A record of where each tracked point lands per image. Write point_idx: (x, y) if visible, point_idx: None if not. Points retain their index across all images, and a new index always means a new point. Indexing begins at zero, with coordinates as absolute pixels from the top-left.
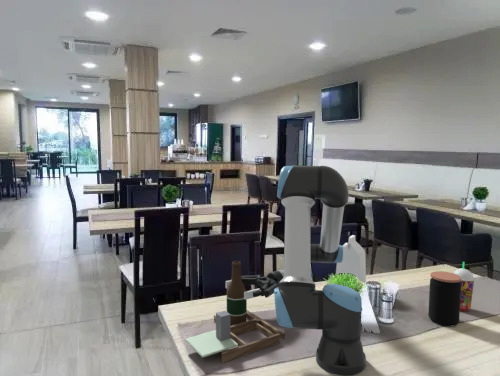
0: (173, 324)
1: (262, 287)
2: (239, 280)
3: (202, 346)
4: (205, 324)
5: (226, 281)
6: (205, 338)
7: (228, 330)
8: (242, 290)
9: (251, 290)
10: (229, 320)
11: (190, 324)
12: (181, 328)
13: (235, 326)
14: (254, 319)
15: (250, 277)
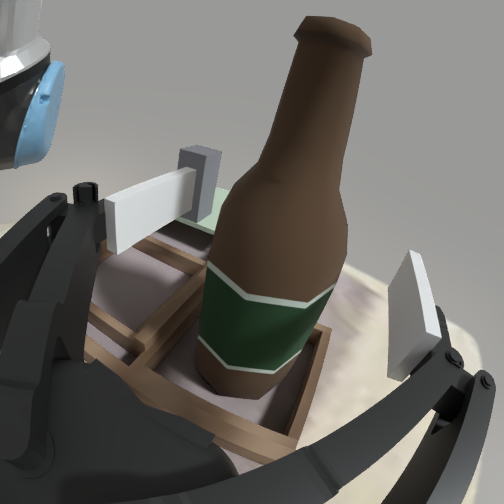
0: (379, 287)
1: (85, 225)
2: (268, 138)
3: (215, 193)
4: (325, 315)
5: (414, 253)
6: None
7: None
8: (227, 196)
9: (160, 180)
10: (179, 165)
11: (354, 300)
12: (348, 279)
13: (198, 276)
14: (145, 335)
15: (428, 482)
